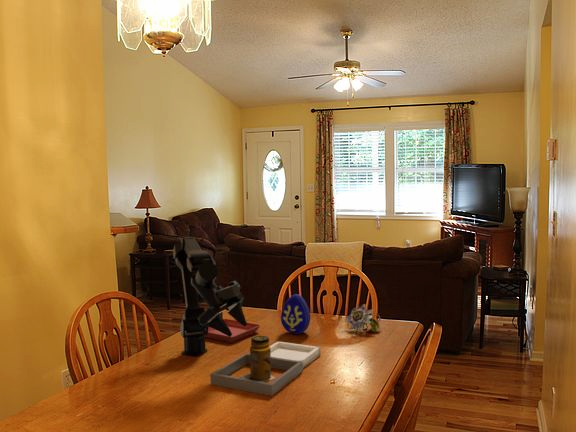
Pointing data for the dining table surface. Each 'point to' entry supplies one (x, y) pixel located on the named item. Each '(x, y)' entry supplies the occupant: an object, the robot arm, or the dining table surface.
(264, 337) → the condiment
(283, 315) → the ornament
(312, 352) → the tray
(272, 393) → the gray square frame
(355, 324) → the passion flower
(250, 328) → the plant saucer
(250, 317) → the dining table surface
